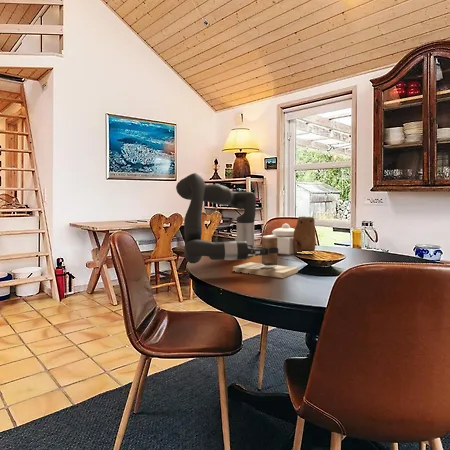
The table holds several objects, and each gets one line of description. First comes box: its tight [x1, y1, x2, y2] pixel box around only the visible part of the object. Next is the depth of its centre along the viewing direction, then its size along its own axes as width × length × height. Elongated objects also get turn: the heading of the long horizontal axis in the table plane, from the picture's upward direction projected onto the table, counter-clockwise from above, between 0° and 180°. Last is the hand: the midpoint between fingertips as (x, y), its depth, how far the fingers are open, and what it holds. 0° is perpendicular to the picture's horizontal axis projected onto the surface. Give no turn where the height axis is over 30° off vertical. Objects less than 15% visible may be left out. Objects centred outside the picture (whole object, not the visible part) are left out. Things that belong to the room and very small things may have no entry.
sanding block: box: [261, 236, 278, 266], centre depth 156 cm, size 5×5×11 cm
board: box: [232, 261, 299, 279], centre depth 158 cm, size 23×13×2 cm, turn 55°
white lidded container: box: [262, 223, 295, 256], centre depth 216 cm, size 18×18×16 cm
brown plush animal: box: [294, 216, 316, 253], centre depth 204 cm, size 11×8×20 cm
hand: (275, 249), depth 156 cm, fingers closed on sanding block, 5 cm apart
